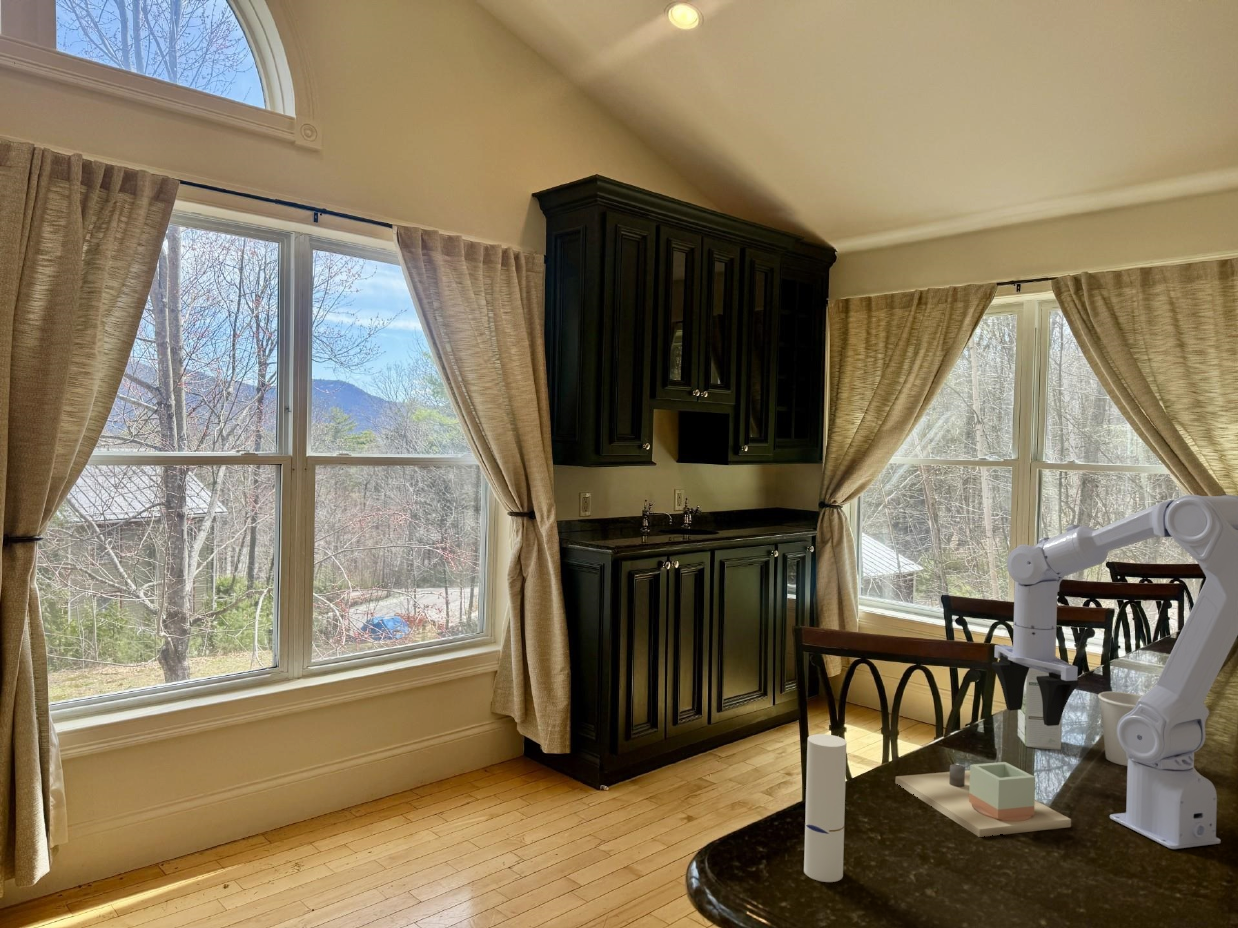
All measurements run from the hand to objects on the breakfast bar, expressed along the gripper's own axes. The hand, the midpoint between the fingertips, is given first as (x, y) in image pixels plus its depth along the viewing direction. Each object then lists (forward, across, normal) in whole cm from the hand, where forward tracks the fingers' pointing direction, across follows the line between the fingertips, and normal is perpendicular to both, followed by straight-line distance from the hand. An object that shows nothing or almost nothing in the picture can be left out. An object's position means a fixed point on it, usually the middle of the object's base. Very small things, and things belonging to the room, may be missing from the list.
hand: (1032, 716), depth 126 cm
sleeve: (+8, +10, -14) cm, 19 cm away
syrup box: (+10, -14, +14) cm, 22 cm away
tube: (+10, +19, -45) cm, 50 cm away
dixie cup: (+10, -4, +22) cm, 24 cm away
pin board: (+9, +6, -14) cm, 18 cm away
